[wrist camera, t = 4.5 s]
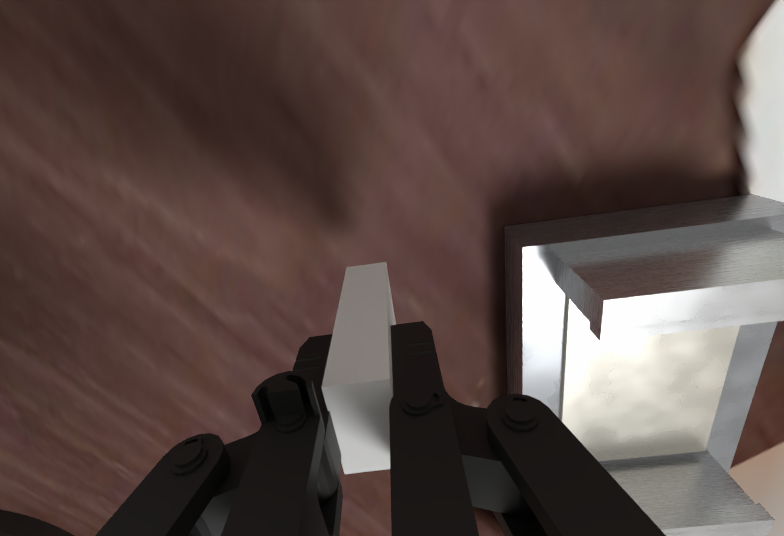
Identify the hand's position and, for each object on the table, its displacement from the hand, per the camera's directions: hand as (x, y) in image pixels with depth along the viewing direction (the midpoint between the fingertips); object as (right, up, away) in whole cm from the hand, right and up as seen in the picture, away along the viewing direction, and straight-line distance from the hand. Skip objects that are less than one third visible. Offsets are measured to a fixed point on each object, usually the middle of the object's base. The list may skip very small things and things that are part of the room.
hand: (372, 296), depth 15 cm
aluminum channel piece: (+13, -3, +8) cm, 16 cm away
